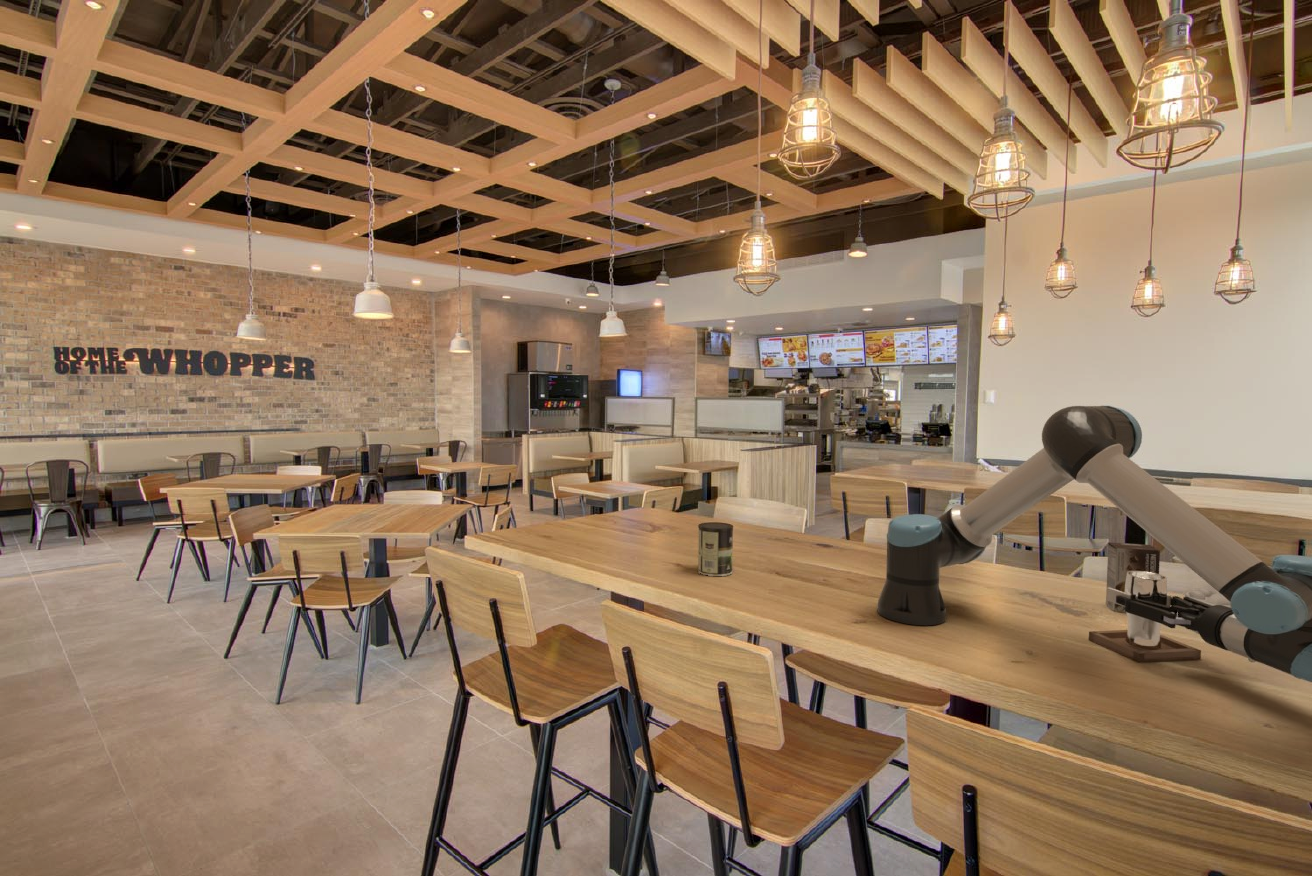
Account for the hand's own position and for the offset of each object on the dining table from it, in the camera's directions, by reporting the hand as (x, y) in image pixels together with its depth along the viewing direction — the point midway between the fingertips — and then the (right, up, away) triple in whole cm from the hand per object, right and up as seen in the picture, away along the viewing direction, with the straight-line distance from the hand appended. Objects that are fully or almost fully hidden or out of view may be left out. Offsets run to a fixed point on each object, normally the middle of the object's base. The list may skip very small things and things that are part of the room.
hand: (1124, 593), depth 135 cm
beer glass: (+1, -10, -4) cm, 11 cm away
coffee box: (+17, -10, +21) cm, 29 cm away
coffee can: (-83, -7, +52) cm, 98 cm away
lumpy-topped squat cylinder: (+26, -10, +8) cm, 29 cm away
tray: (+1, -11, -4) cm, 11 cm away
